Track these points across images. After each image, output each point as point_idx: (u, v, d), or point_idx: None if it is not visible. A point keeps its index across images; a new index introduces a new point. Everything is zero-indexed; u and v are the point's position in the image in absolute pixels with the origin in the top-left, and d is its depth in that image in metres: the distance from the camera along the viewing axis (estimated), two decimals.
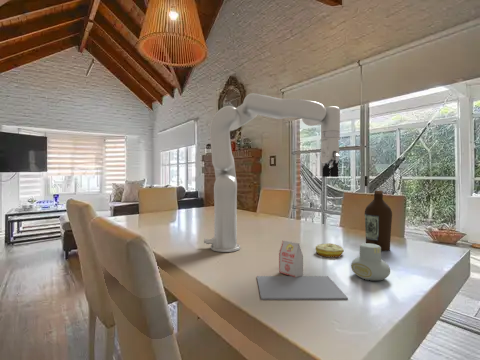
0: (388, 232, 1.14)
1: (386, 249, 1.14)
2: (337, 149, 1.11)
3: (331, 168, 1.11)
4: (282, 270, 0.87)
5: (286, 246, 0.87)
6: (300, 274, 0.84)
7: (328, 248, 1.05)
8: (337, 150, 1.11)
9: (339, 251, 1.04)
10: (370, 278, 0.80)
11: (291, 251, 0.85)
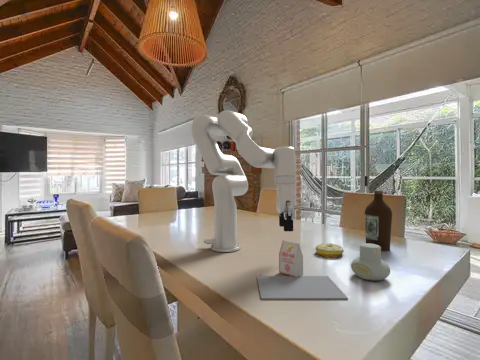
0: (388, 232, 1.14)
1: (386, 249, 1.14)
2: (291, 198, 0.93)
3: (284, 221, 0.93)
4: (282, 270, 0.87)
5: (286, 246, 0.87)
6: (300, 274, 0.84)
7: (328, 248, 1.05)
8: (291, 200, 0.93)
9: (339, 251, 1.04)
10: (370, 278, 0.80)
11: (291, 251, 0.85)
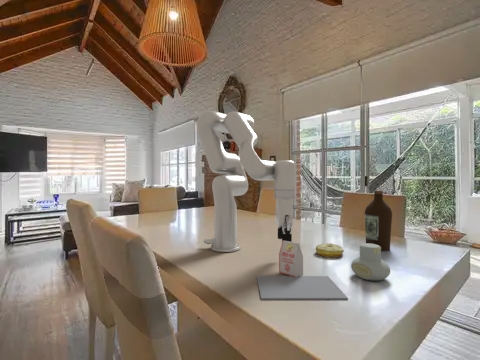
0: (388, 232, 1.14)
1: (386, 249, 1.14)
2: (290, 213, 0.94)
3: (283, 235, 0.94)
4: (282, 270, 0.87)
5: (286, 246, 0.87)
6: (300, 274, 0.84)
7: (328, 248, 1.05)
8: (290, 214, 0.94)
9: (339, 251, 1.04)
10: (370, 278, 0.80)
11: (291, 251, 0.85)
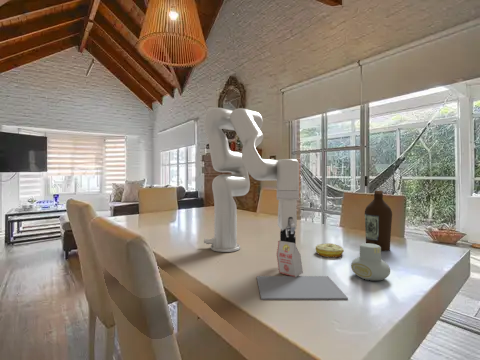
0: (388, 232, 1.14)
1: (386, 249, 1.14)
2: (294, 215, 0.88)
3: (286, 239, 0.88)
4: (282, 270, 0.87)
5: (282, 246, 0.87)
6: (300, 273, 0.84)
7: (328, 248, 1.05)
8: (294, 216, 0.88)
9: (339, 251, 1.04)
10: (370, 278, 0.80)
11: (288, 251, 0.84)
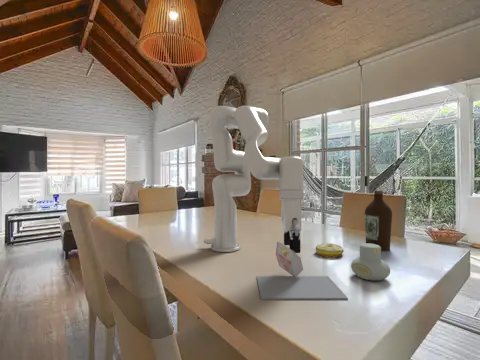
0: (388, 232, 1.14)
1: (386, 249, 1.14)
2: (298, 215, 0.82)
3: (291, 241, 0.82)
4: (282, 266, 0.86)
5: (281, 249, 0.82)
6: (300, 271, 0.83)
7: (328, 248, 1.05)
8: (298, 217, 0.82)
9: (339, 251, 1.04)
10: (370, 278, 0.80)
11: (287, 257, 0.80)
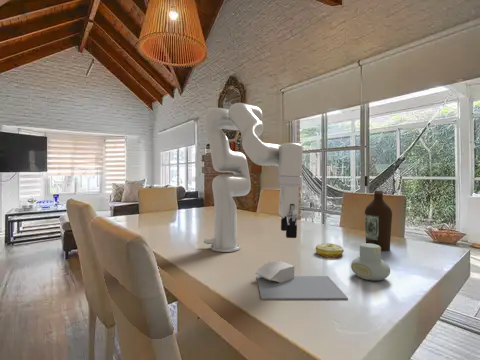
0: (388, 232, 1.14)
1: (386, 249, 1.14)
2: (296, 201, 0.84)
3: (287, 226, 0.84)
4: None
5: None
6: (293, 270, 0.82)
7: (328, 248, 1.05)
8: (296, 203, 0.84)
9: (339, 251, 1.04)
10: (370, 278, 0.80)
11: None
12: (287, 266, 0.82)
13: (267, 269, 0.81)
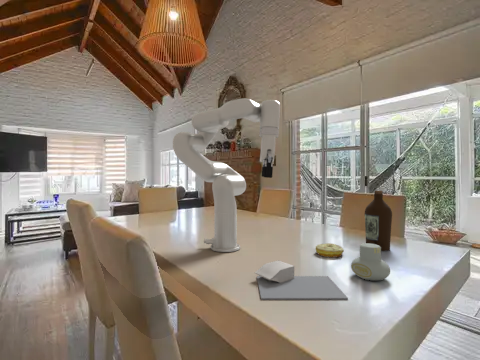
0: (388, 232, 1.14)
1: (386, 249, 1.14)
2: (272, 147, 1.01)
3: (265, 168, 1.01)
4: None
5: None
6: (293, 270, 0.82)
7: (328, 248, 1.05)
8: (272, 149, 1.01)
9: (339, 251, 1.04)
10: (370, 278, 0.80)
11: None
12: (287, 266, 0.82)
13: (267, 269, 0.81)
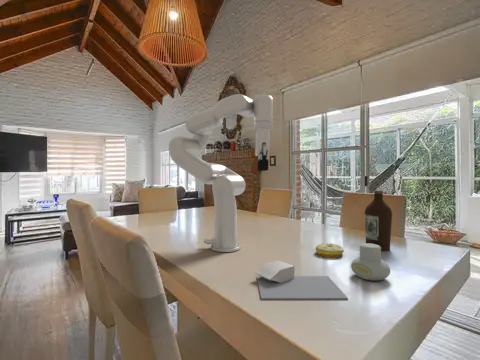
0: (388, 232, 1.14)
1: (386, 249, 1.14)
2: (267, 140, 1.03)
3: (260, 161, 1.03)
4: None
5: None
6: (293, 270, 0.82)
7: (328, 248, 1.05)
8: (267, 142, 1.03)
9: (339, 251, 1.04)
10: (370, 278, 0.80)
11: None
12: (287, 266, 0.82)
13: (267, 269, 0.81)
